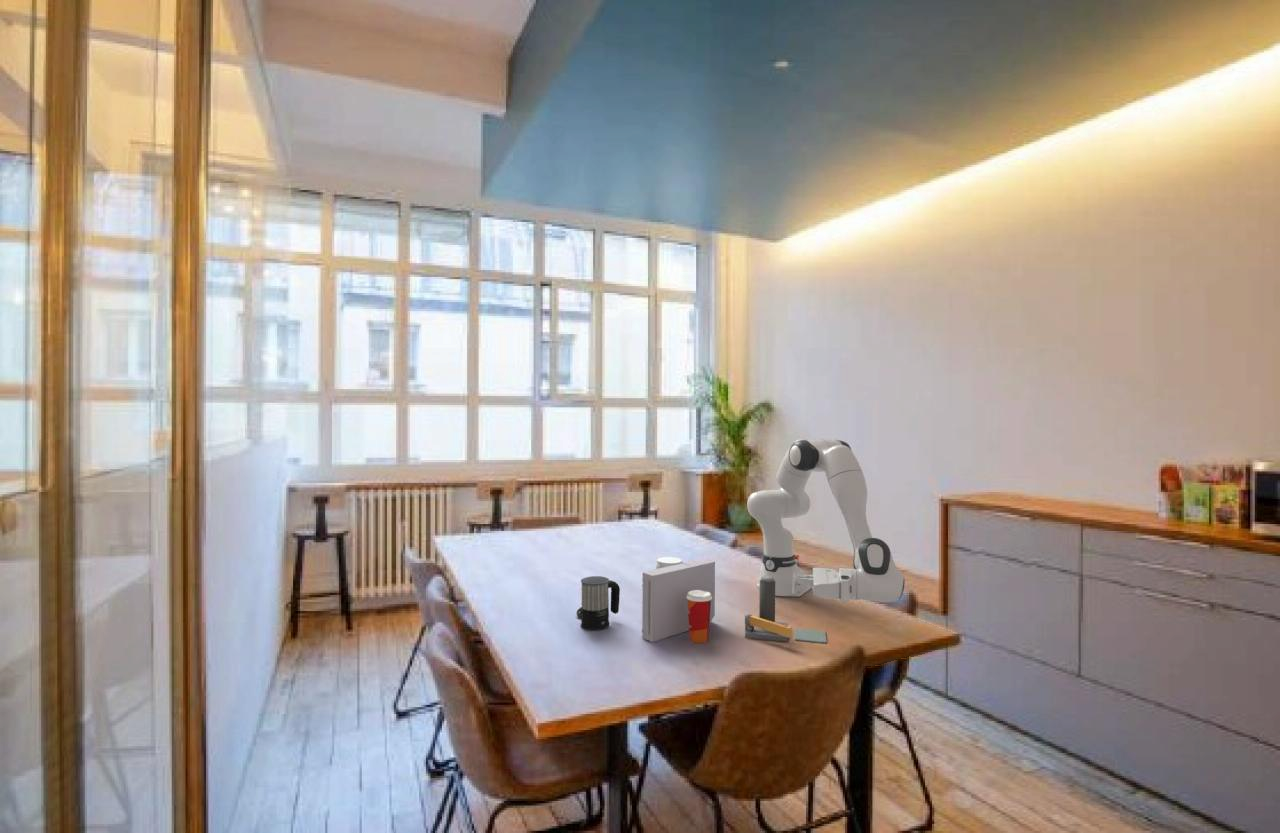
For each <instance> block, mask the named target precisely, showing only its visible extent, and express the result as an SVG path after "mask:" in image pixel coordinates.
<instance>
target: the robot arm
mask: <svg viewBox="0 0 1280 833" xmlns="http://www.w3.org/2000/svg"><path fill="white" fill-rule="evenodd" d="M812 472H815V473H816V472H817V473H818V472H824V473H825V476H826V479H827V483H828V485H829V488H830V491H831V493H832V496H833V497H834V499H835V502H836V503H837V505H838V507H839V509H840V513H841V514H842V516H843V518H844V521H845V524H846V527H847V532H848V533H849V537H850V541H851V543H852V546H853V560H852V561H853V563H852V566H853V568H849V567H848V568H845V567H839V569H838V570H836V569H833V568H825V567H819V566H818V567H813V568H812V574H808V575H807V574H806V573H805V572H804V571H803V569H801V567H799V566H798V565H797V562H796V560H797V561H798V560H799V559H800V554H798V553H796V554H795V553H794V536H793V533H792V532H791V531H790V530H789V529H787V528H785V527H784V526H783V524H782V522H783V521H782V519H792V518H793V519H794V518H797V517H801V516H804V515H806V514H808V512H809V511H810V508H811V499H810V496H809V495H808V493H807V492H806V491H805V488H806V484H807V482H808V480H809V478H810V476H811V474H812ZM775 479H776V482H777V485H778V486H779V487H780V488H779V489H767V490H766V489H764V490H763V489H762V490H759V491H754V492H752V493H751V494H750V495H749V496H748V498H747V503H746V508H747V511H748V513H749V515H750V516H751V517H752V518H753V519H755V520H756V521H757V523H758V525H759V526H760V528H761V532H762V537H763V538H762V539H763V553H762V557H761V558H762V565H761V566H760V568H759V570H760V571H759V578H758V579H759V581H758V583H756V587H757V588H758V591H760V580H761V577H762V576H770V577H773V578H774V581H775V597H797V598H798V597H801V596H803V595H804V594H806V593H807V592H809V590H811V589H813V590H812V593H813V596H814V597H817V598H821V599H827V600H837V601H838V600H839V601H840V602H842V603H849V602H850V601H851V600H856V601H859V600H867V601H870V602H876V603H877V602H878V603H880V602H881V603H893V602H897V601H899V600H900V599H901V598H902V597H903V594H904V590H905V582H906V581H905V577H904V575H903V573H901V571H900V570H899V568H898V567H897V565H896V563H895V561H894V558H893V555H892V552H891V549H890V547H889V545H888V543H886V542H885V541H884V540H882V539H880V538H877V537H872V533H871V531H870V527H869V524H868V521H867V514H866V513H867V512H866V511H867V510H866V509H867V500H868V489H867V487H868V486H867V482H866V479H865V475H864V472H863V470H862V467H861V465H860V463H859V461H858V458H856V456H855V454H854V453H853V451H852V448H851V446H850V444H848V442H846V441H843V440H839V439H829V438H828V439H827V438H819V439H805V438H799V439H796V440H795V441H794V442H793V443H792V444H791V445H790V447H789V448H788V450H787V451H786V453H785V455H784V457H783V458H782V461H781V463H780V464H779V467H778V470H777V472H776V474H775Z"/></svg>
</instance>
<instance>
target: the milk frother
mask: <svg viewBox="0 0 1280 833" xmlns="http://www.w3.org/2000/svg"><path fill="white" fill-rule="evenodd" d="M580 583H581V607H579V608H578V609H577V610H576V616H577V617H578V618H580V619H581V623H580V627H581V628H582V629H584V630H586V631H596V632H597V631H602V630H605V629H607V628H609V627H610V619H609V618H610V615H609V614H610V612H612V613H613V614H615V615H616V614H618V613H619V609H620V608H619V606H620V595H621V593H620V590H621V588H620V585H619V584H618V583H617V582H616V581H614V580H610V579H609V578H608V577H605V576H598V575H595V576H587V577H584V578H582V579H581V580H580ZM609 589H610V603H609ZM609 604H610V606H609ZM609 607H610V609H609ZM609 610H610V611H609Z"/></svg>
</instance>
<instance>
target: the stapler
mask: <svg viewBox="0 0 1280 833" xmlns="http://www.w3.org/2000/svg"><path fill="white" fill-rule="evenodd" d="M775 622H776V621H775ZM775 622H772V621H768V620H765V619H762V618H759V617H758V616H755V615H752V614H750V613H747V614H744V625H745V624H746V625H751V626H753V627H754V626H755V627H758V628H761V629H764V630H767V631H771V632H774V633H777V634H780V635H783V636H785V637H788V638H790V637H792V636H793V634H792V633H793V631H792V630H793V627H792V626H790V625H788V626H787V625H786V626H785V625H782V624H778V623H775Z"/></svg>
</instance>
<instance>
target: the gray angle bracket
mask: <svg viewBox="0 0 1280 833" xmlns="http://www.w3.org/2000/svg"><path fill="white" fill-rule="evenodd" d="M775 623H778V624H782V625H785V626H786V625H787V626H789V622H782V621H775ZM752 628H754V626H752ZM744 638H747V639H748V638H749V639H754V640H755V639H757V640H758V639H759V640H764V641H765V640H768V641H776V642H777V641H778V642H788V639H789V637H785V636H783V635H780V634H769V633H759V632H754V631H752V632H751V631H745V630H744Z"/></svg>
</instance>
